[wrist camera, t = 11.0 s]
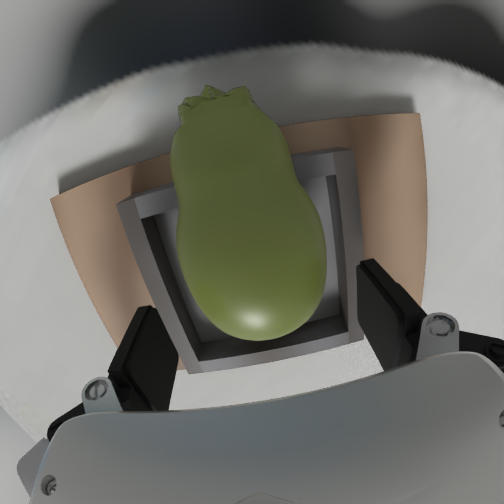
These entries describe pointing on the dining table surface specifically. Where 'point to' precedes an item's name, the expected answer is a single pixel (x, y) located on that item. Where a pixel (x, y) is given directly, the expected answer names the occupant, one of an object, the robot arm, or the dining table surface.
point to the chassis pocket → (329, 209)
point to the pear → (244, 219)
